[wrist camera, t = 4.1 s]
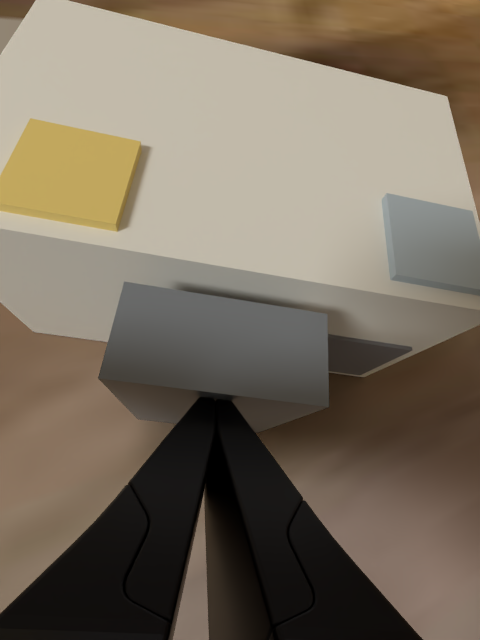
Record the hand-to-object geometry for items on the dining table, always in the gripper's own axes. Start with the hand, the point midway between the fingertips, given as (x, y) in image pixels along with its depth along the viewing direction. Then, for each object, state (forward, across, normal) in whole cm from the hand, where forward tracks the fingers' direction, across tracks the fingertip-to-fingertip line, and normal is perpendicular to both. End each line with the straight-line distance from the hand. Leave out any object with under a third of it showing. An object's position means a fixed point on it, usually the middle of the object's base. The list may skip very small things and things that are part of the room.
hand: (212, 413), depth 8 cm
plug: (+8, 0, +1) cm, 8 cm away
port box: (+11, 0, -1) cm, 11 cm away
